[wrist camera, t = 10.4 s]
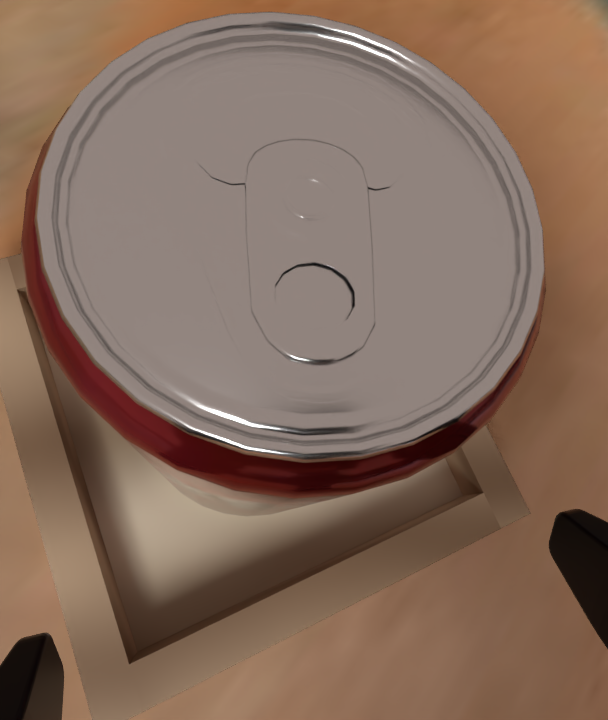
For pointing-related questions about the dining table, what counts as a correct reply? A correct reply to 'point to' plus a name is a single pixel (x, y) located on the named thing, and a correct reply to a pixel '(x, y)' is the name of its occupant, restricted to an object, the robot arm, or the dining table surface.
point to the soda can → (283, 259)
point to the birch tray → (207, 537)
